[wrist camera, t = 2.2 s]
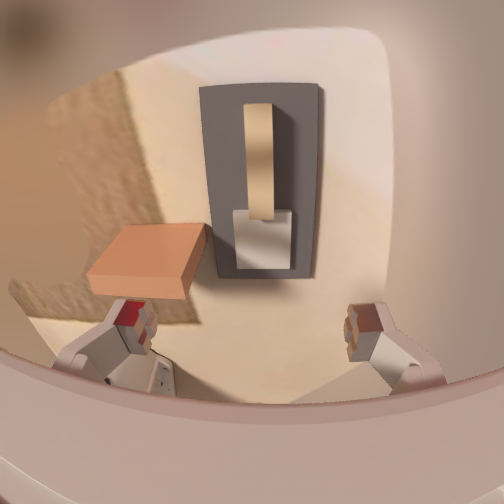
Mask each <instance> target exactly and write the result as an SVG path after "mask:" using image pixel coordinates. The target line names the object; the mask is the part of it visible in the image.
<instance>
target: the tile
mask: <svg viewBox="0 0 504 504" xmlns="http://www.w3.org/2000/svg"><path fill="white" fill-rule="evenodd" d="M206 243H207V239H206V232H205V224H204V223H184V224H153V225H129V226H126V227H125V228H124V229H123V230H122V231H121V232H120V233H119V235H118V236H117V237H116V238H115V239H114V241H113V242H112V243H111V244H110V245H109V246H108V248H107V249H106V250H105V251H104V253H103V254H102V255H101V256H100V258H99V259H98V260H97V261H96V263H95V264H94V265H93V266H92V268H91V269H90V270H89V271H88V273H87V274H86V275H87V278H88V280H89V283H90V285H91V287H92V290H93V292H94V294H103V295H116V296H130V297H146V298H165V299H186V298H187V295H188V292H189V289H190V286H191V283H192V281H193V278H194V275H195V272H196V270H197V267H198V264H199V261H200V259H201V256H202V253H203V251H204V248H205V245H206Z"/></svg>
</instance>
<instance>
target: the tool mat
mask: <svg viewBox="0 0 504 504" xmlns="http://www.w3.org/2000/svg"><path fill="white" fill-rule="evenodd" d="M199 95H200V109H201V121H202V133H203V144H204V155H205V166H206V176H207V185H208V195H209V204H210V213H211V221H212V230H213V238H214V246H215V254H216V261H217V269H218V276H219V278H250V279H290V278H309V277H310V267H311V255H312V243H313V230H314V215H315V197H316V176H317V146H318V84H312V83H245V84H229V85H216V86H206V87H199ZM250 103H272V124H273V173H274V209H291V212H292V216H291V249H290V269H237V260H236V248H235V236H234V224H233V210H249V207H248V187H247V167H246V147H245V127H244V106H243V105H244V104H250Z"/></svg>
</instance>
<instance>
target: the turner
mask: <svg viewBox="0 0 504 504" xmlns="http://www.w3.org/2000/svg"><path fill="white" fill-rule="evenodd" d="M243 106H244V127H245V147H246V167H247V187H248V207H249V210H233V224H234V236H235V248H236V260H237V269H290V249H291V216H292V212H291V209H274V173H273V124H272V103H250V104H244V105H243Z"/></svg>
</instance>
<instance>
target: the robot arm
mask: <svg viewBox="0 0 504 504" xmlns="http://www.w3.org/2000/svg"><path fill="white" fill-rule="evenodd" d="M152 308H153V307H152V305H151V302H149V301H144V300H134V299H122V298H118V299H117V300H116V301H115V303H114V304H113V306H112V308H111V309H110V311H109V313H108V315H107V316H106V318H105V320H104V322H103V324H102V323H99V324H98V325H96V326H95V327H93V328H92V329H90V330H89V331H87V332H86V333H84V334H83V335H81V336H80V337H78V338H77V339H75V340H74V341H72V342H71V343H69V344H68V345H67V346H65V347H64V348H62V350H61V351H60V353H59V355H58V357H57V358H56V360H55V362H54V364H53V366H52V368H49V367H46V366H43V365H40V364H38V363H35V362H32V361H29V360H27V359H24V358H22V357H19V356H17V355H14V354H12V353H9V352H7V351H4V350H0V504H504V367H503V368H500V369H497V370H495V371H492V372H488V373H485V374H482V375H479V376H476V377H472V378H469V379H465V380H462V381H458V382H454V383H450V384H447V382H446V379H445V377H444V374H443V371H442V369H441V366H440V363H439V361H438V360H437V359H436V358H434V357H433V356H432V355H431V354H429V353H428V352H427V351H426V350H424V349H423V348H422V347H420V346H419V345H418V344H417V343H415V342H414V341H413V340H412V339H410V338H409V337H408V336H407V335H405V334H404V333H403V332H402V331H400V330H396V327H395V325H394V322H393V320H392V317H391V315H390V312H389V309H388V307H387V305H386V303H385V302H374V303H356V304H350V305H349V306H348V310H347V312H348V317H347V318H346V319H345V323H344V338H345V341H346V342H347V343H348V347H347V353H348V358H349V362H361V361H369V363H370V364H371V365H372V366H373V367H374V368H375V370H376V371H377V372H378V373H379V374H380V375H381V376H382V377H383V379H385V381H386V382H387V383H388V384H389V385H390V387H391V388H392V389H393V390H392V391H391V393H390V394H389V396H384V397H377V398H369V399H360V400H350V401H339V402H324V403H304V404H303V403H302V404H256V403H234V402H219V401H208V400H198V399H189V398H181V397H176V391H175V383H174V374H173V365H172V362H171V361H170V360H168V359H166V358H164V357H162V356H160V355H157V354H156V353H154V352H153V351H151V350H150V348H151V345H152V343H151V341H150V339H152V338H153V337H154V336H155V334H156V332H157V319H156V316H155V315H154V314H153V313H152V312H151V310H152Z"/></svg>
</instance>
